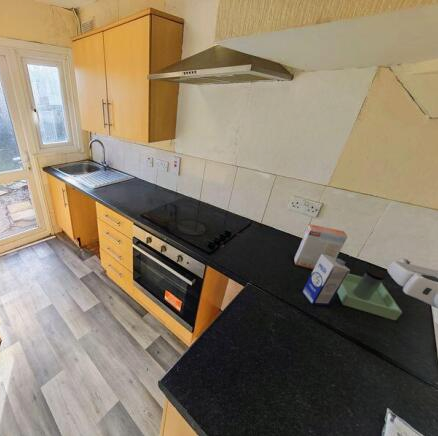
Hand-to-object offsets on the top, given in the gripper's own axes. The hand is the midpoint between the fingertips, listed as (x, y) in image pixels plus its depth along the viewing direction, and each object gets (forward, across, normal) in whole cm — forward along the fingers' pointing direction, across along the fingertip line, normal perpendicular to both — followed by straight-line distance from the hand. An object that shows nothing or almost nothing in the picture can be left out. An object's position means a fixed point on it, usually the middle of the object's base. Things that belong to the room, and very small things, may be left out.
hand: (422, 265), depth 69 cm
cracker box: (+29, +16, +28) cm, 44 cm away
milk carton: (+5, +18, +28) cm, 34 cm away
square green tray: (+15, 0, +28) cm, 32 cm away
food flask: (+15, 0, +27) cm, 31 cm away
